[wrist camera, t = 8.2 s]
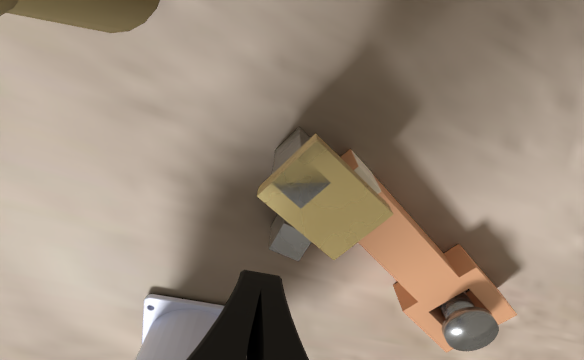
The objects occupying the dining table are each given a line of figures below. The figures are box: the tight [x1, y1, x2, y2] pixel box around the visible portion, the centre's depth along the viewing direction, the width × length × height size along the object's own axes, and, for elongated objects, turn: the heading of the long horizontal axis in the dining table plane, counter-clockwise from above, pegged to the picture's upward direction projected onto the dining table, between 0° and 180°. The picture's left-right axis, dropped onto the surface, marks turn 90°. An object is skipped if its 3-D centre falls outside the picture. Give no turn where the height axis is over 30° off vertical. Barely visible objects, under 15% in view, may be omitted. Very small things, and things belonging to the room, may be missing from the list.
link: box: [341, 149, 517, 353], centre depth 22 cm, size 16×5×2 cm, turn 42°
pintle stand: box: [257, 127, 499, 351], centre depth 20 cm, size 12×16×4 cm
